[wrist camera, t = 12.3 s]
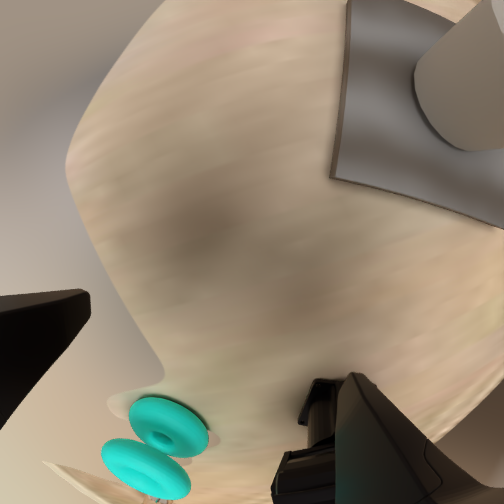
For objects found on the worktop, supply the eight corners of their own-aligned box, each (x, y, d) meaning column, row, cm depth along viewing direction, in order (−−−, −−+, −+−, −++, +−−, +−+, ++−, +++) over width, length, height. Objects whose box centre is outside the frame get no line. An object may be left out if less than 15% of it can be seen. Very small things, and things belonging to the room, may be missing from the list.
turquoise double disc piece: (158, 466, 16) (200, 510, 18) (194, 394, 25) (221, 447, 27) (80, 442, 18) (126, 491, 20) (123, 388, 27) (155, 440, 29)
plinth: (493, 226, 17) (513, 232, 14) (329, 178, 18) (335, 176, 15) (497, 68, 12) (513, 61, 9) (346, 4, 14) (351, -16, 11)
